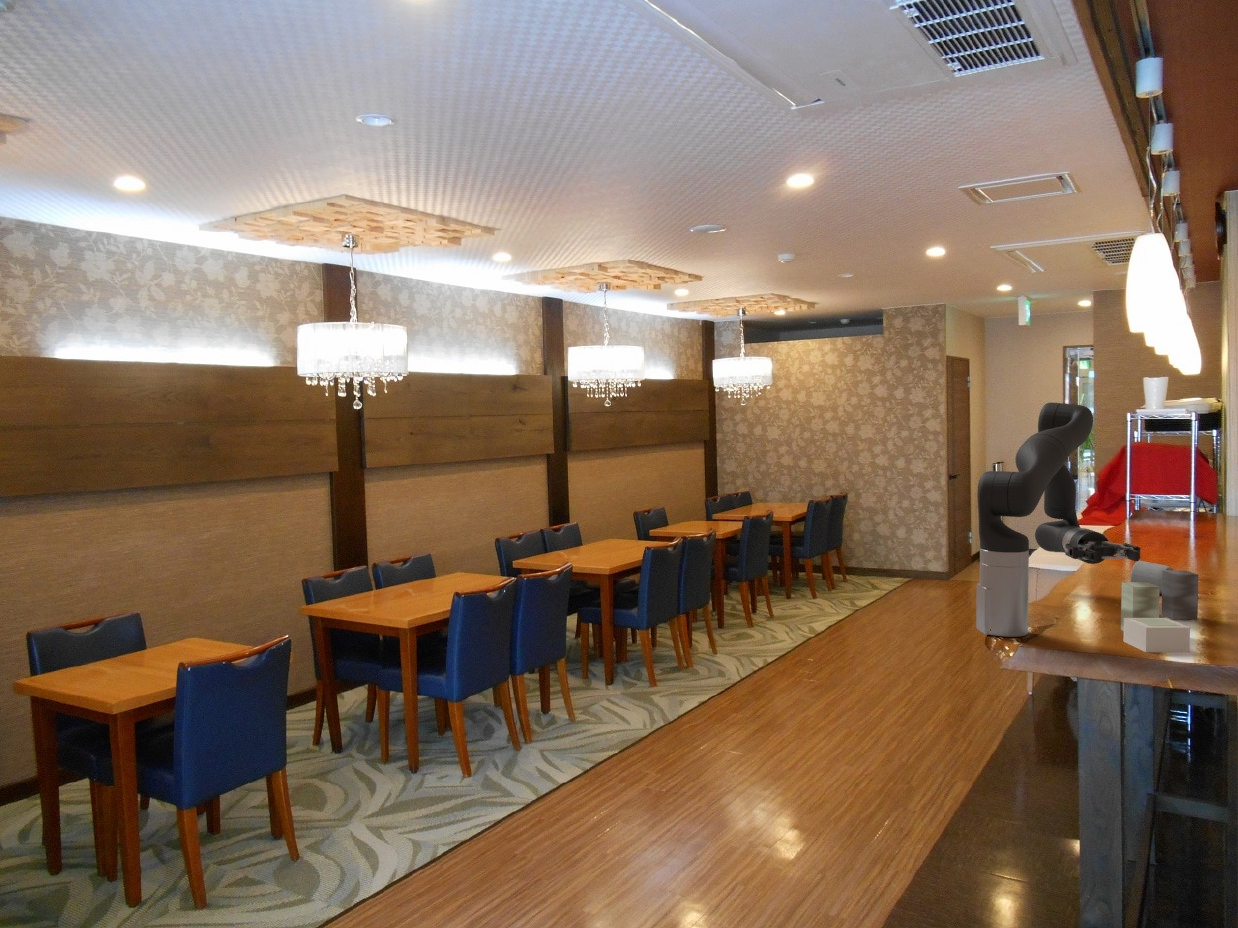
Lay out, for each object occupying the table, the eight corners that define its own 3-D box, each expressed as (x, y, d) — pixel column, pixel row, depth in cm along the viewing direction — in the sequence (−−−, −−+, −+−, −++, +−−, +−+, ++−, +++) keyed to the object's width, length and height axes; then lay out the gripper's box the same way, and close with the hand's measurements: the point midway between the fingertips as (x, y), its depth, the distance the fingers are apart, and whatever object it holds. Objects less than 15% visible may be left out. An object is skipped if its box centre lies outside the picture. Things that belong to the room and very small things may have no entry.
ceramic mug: (1165, 597, 215) (1166, 565, 215) (1129, 592, 221) (1130, 561, 221) (1182, 592, 222) (1183, 561, 221) (1147, 587, 228) (1147, 558, 228)
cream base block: (1145, 653, 166) (1146, 626, 165) (1123, 642, 174) (1123, 617, 173) (1189, 653, 165) (1190, 626, 165) (1165, 642, 173) (1165, 617, 173)
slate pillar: (1173, 619, 191) (1173, 574, 191) (1161, 614, 196) (1162, 570, 196) (1197, 620, 191) (1198, 574, 190) (1185, 615, 196) (1186, 570, 195)
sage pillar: (1132, 635, 178) (1133, 586, 177) (1120, 629, 183) (1121, 582, 182) (1158, 636, 177) (1159, 586, 177) (1146, 630, 182) (1147, 582, 182)
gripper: (1053, 529, 207) (1081, 539, 191) (1117, 528, 206) (1151, 539, 190) (1053, 561, 208) (1081, 573, 192) (1117, 560, 206) (1151, 573, 190)
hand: (1116, 556), depth 191 cm, fingers open, 8 cm apart
